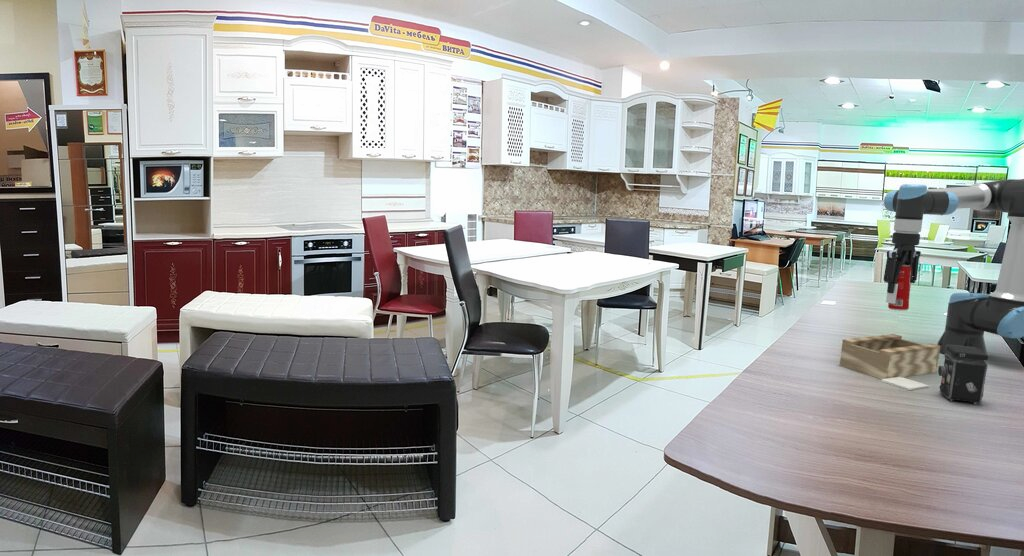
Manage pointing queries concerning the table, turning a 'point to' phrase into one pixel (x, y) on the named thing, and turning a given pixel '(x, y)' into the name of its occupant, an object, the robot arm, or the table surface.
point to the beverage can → (902, 290)
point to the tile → (905, 383)
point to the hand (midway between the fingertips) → (897, 302)
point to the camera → (963, 373)
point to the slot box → (889, 356)
